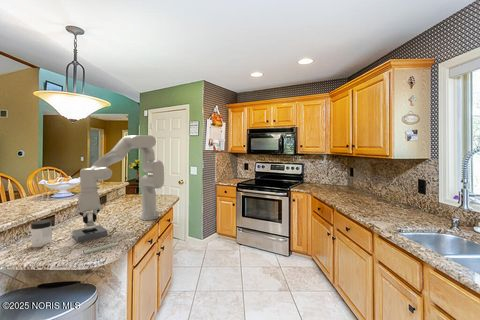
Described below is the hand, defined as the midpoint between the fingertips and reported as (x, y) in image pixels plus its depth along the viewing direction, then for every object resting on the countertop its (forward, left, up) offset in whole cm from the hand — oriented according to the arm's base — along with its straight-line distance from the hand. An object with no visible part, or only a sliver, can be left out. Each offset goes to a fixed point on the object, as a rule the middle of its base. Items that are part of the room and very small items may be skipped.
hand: (89, 222), depth 130 cm
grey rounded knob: (0, 0, -4) cm, 4 cm away
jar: (+20, -7, -9) cm, 23 cm away
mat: (0, +17, -9) cm, 19 cm away
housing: (0, 0, -9) cm, 9 cm away
